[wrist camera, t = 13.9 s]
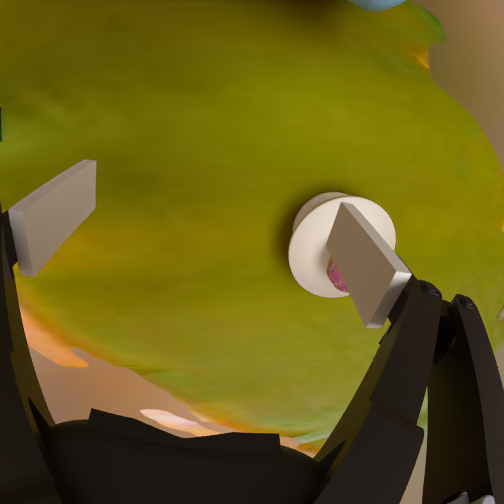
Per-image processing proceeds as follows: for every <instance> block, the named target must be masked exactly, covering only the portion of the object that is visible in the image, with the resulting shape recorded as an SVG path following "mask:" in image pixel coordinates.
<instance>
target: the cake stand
mask: <svg viewBox="0 0 504 504" xmlns="http://www.w3.org/2000/svg"><path fill="white" fill-rule="evenodd" d="M341 202H345V203H349V204H353V205H354V206H355V207H356V208H357V209H358V210H359V211H360V212H361V214H362V215H363V216H364V217H365V218H366V219H367V220H368V221H369V223H370V224H371V225H372V226H373V227H374V228H375V229H376V231H377V232H378V233H379V234H380V235H381V236H382V238H383V239H384V240H385V241H386V242H387V244H388V245H389V246H390V247H391V248H392V250H393V251H394V248H395V230H394V226H393V223H392V221H391V219H390V217H389V216H388V214H387V213H386V212H385V211H384V210H383V209H382V208H381V207H380V206H379V205H378V204H376V203H375V202H373V201H371V200H369V199H367V198H364V197H360V196H352V195H348V194H345V193H342V192H334V191H333V192H325V193H322V194H319V195H316V196H314V197H313V198H311V199H310V200H308V201H307V202H306V203H305V204H304V205H303V206H302V207H301V208H300V210H299V211H298V213H297V215H296V217H295V219H294V223H293V229H292V231H293V234H292V236H291V239H290V243H289V248H288V259H289V265H290V268H291V271H292V274H293V276H294V277H295V279H296V280H297V282H298V283H299V284H300V285H301V286H302V287H303V288H304V289H306V290H307V291H309V292H311V293H313V294H316V295H318V296H323V297H343V296H347V295H350V293H347V292H341V291H340V290H338V289H336V288H335V287H334V285H333V283H332V282H331V281H330V279H329V278H328V276H327V273H326V270H327V266H328V262H329V259H330V256H331V255H330V253H329V251H328V249H327V248H326V246H325V245H326V243H327V240H328V237H329V234H330V232H331V229H332V226H333V223H334V220H335V217H336V215H337V212H338V209H339V206H340V203H341Z"/></svg>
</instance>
